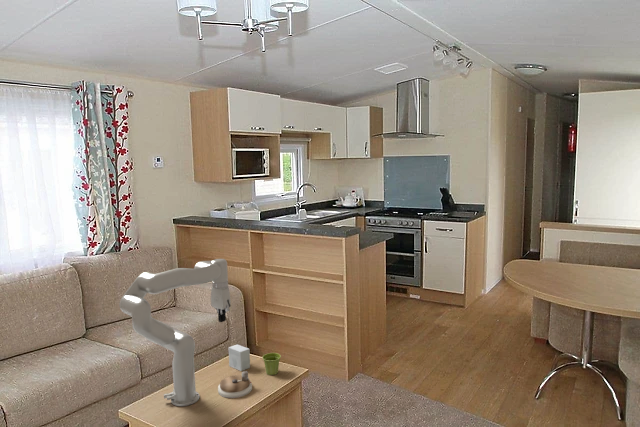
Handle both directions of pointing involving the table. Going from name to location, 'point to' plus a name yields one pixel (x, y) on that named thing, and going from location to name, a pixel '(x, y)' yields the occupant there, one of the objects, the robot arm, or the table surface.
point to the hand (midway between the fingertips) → (222, 321)
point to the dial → (235, 383)
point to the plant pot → (271, 363)
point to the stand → (235, 394)
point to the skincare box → (239, 357)
